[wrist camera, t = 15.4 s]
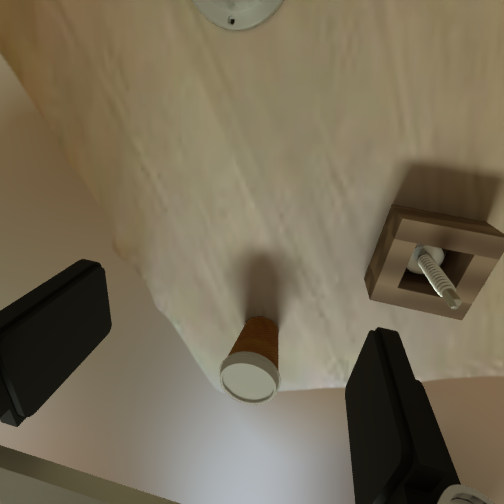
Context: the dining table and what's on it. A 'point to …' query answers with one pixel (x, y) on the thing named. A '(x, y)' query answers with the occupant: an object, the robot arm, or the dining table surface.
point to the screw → (434, 272)
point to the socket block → (454, 264)
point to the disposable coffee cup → (253, 363)
